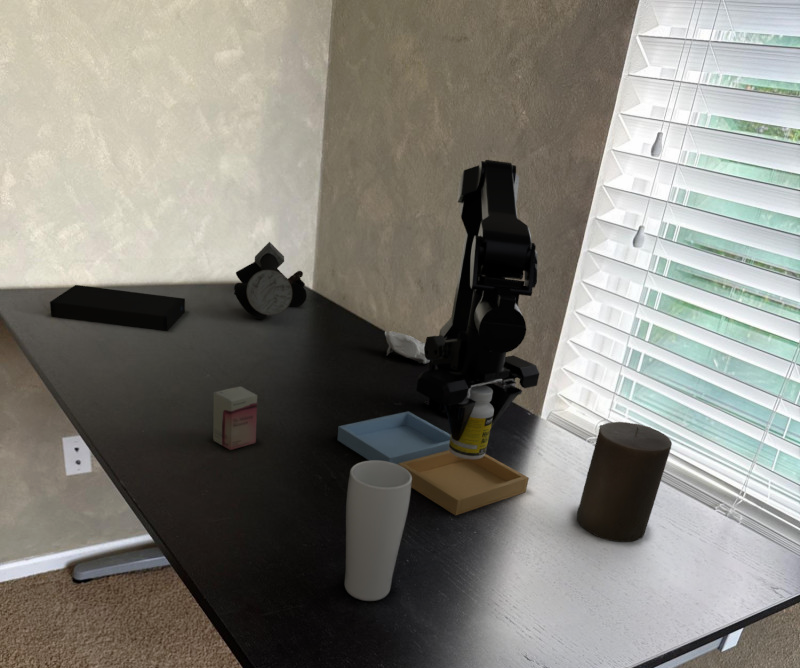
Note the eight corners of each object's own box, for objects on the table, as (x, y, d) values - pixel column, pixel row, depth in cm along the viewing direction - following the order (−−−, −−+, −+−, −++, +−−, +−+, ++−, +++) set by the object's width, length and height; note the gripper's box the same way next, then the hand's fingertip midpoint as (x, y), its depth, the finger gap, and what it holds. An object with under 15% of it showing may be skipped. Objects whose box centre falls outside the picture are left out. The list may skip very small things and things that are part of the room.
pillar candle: (641, 549, 109) (673, 448, 102) (569, 529, 112) (596, 429, 104) (647, 518, 117) (678, 423, 110) (581, 501, 120) (606, 406, 112)
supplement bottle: (483, 463, 114) (495, 398, 109) (445, 456, 115) (456, 391, 110) (487, 448, 119) (499, 385, 114) (451, 441, 120) (461, 378, 115)
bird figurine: (382, 365, 165) (429, 364, 162) (380, 330, 163) (428, 329, 160) (391, 363, 169) (436, 362, 166) (389, 330, 168) (435, 328, 164)
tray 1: (406, 424, 137) (408, 411, 136) (458, 453, 129) (460, 439, 128) (337, 440, 128) (338, 426, 127) (388, 472, 120) (389, 458, 119)
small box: (230, 451, 120) (230, 401, 116) (212, 440, 122) (212, 391, 118) (257, 443, 123) (258, 394, 119) (239, 433, 126) (240, 385, 122)
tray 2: (466, 458, 128) (468, 444, 127) (525, 492, 120) (529, 477, 119) (396, 477, 119) (398, 463, 118) (455, 515, 111) (458, 500, 110)
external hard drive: (77, 298, 175) (76, 284, 173) (185, 312, 176) (185, 298, 174) (51, 316, 162) (49, 301, 161) (167, 331, 163) (167, 316, 162)
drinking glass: (337, 572, 96) (348, 457, 88) (393, 575, 97) (409, 461, 89) (338, 606, 90) (350, 486, 83) (398, 608, 91) (416, 490, 83)
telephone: (280, 353, 177) (278, 309, 202) (321, 313, 173) (314, 274, 198) (226, 302, 169) (231, 264, 194) (268, 259, 166) (268, 226, 191)
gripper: (493, 305, 118) (475, 405, 126) (396, 317, 107) (383, 426, 115) (551, 328, 112) (529, 432, 120) (454, 343, 100) (436, 457, 108)
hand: (469, 435), depth 116 cm, fingers closed on supplement bottle, 5 cm apart
